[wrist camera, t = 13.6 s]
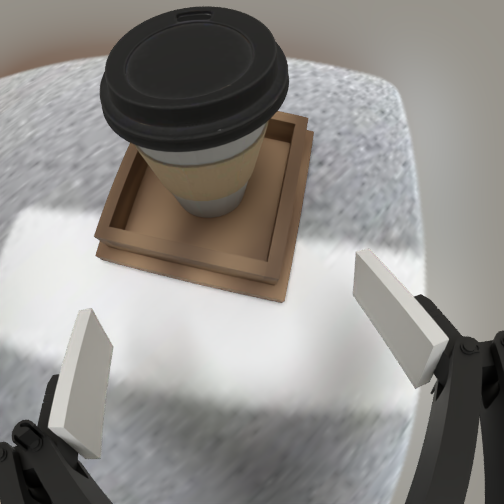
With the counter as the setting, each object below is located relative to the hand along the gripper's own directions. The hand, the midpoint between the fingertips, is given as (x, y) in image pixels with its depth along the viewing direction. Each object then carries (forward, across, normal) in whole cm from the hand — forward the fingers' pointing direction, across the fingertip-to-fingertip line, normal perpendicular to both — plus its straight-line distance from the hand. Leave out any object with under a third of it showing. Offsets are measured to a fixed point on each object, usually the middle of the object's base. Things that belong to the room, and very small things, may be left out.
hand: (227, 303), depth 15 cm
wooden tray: (+15, 0, 0) cm, 15 cm away
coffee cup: (+14, 0, +1) cm, 14 cm away
